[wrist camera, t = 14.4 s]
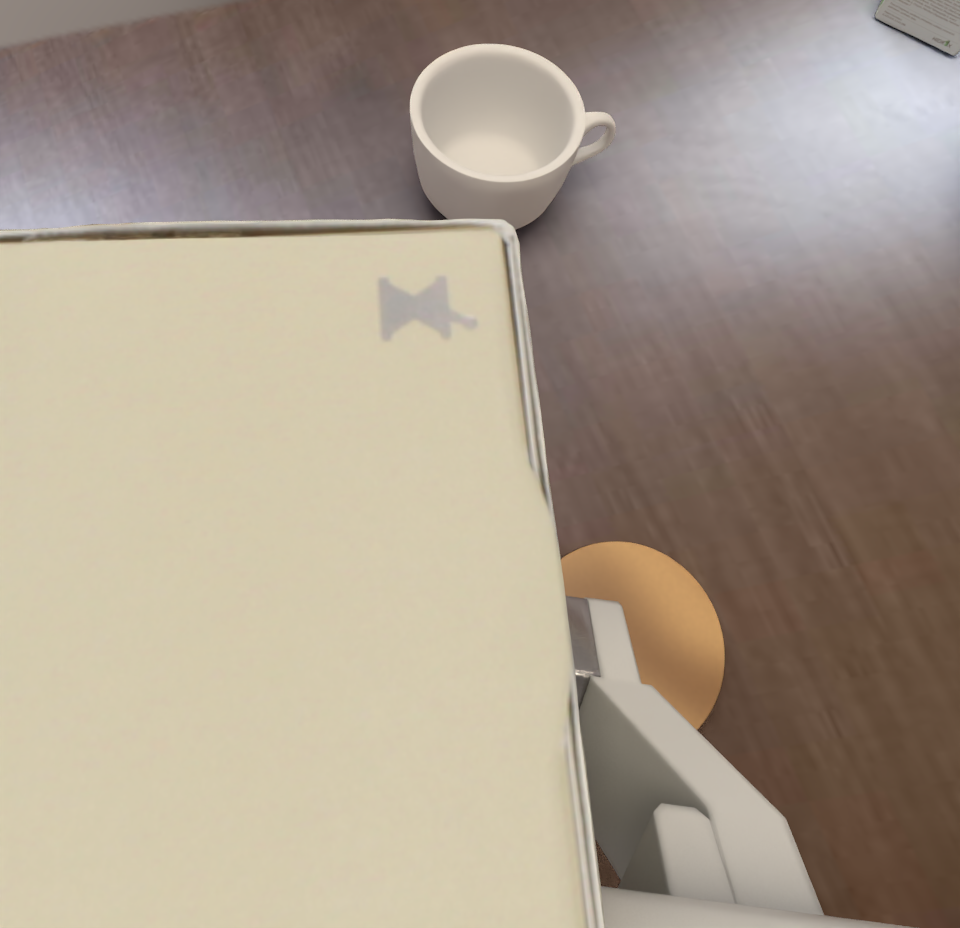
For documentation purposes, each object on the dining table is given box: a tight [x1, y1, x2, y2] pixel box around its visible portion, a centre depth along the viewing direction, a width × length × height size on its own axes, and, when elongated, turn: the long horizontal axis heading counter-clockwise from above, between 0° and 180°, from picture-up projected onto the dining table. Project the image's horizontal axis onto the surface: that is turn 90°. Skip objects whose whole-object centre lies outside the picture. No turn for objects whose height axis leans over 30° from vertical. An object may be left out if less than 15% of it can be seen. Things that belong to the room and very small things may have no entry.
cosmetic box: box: [0, 219, 605, 928], centre depth 10 cm, size 6×4×12 cm
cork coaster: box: [561, 541, 725, 730], centre depth 29 cm, size 9×9×1 cm
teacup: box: [410, 44, 616, 229], centre depth 33 cm, size 10×8×5 cm
